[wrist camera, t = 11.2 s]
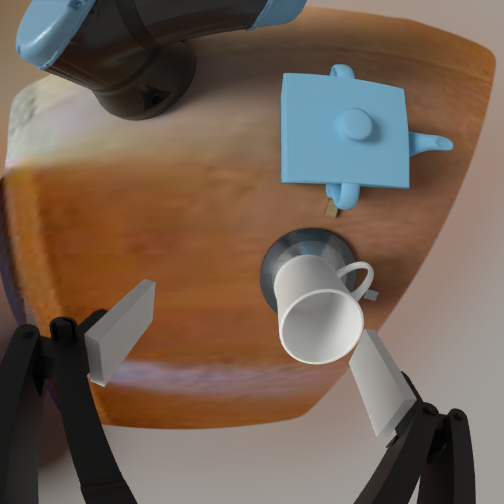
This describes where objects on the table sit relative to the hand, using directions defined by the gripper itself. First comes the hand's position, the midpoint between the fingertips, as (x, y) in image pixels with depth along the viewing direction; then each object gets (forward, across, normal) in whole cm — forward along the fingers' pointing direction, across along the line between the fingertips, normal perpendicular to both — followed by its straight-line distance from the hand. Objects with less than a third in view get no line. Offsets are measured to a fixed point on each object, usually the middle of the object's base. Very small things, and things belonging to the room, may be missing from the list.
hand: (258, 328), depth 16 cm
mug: (+20, +8, -2) cm, 21 cm away
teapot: (+22, +8, +15) cm, 28 cm away
